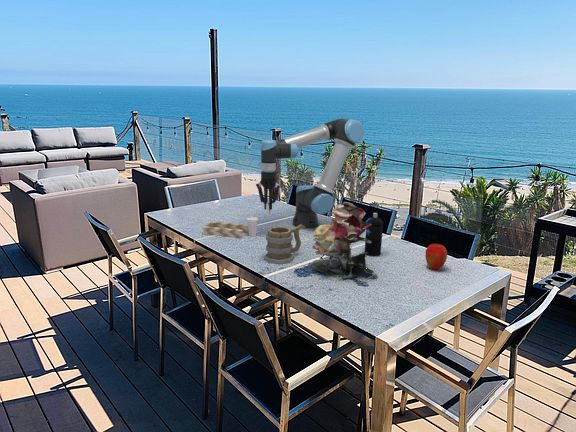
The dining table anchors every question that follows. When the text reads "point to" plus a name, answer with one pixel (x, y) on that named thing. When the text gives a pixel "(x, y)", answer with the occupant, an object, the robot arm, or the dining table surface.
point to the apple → (436, 256)
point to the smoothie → (252, 225)
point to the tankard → (282, 244)
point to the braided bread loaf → (225, 229)
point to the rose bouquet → (341, 242)
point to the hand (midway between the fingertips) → (268, 215)
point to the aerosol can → (374, 236)
